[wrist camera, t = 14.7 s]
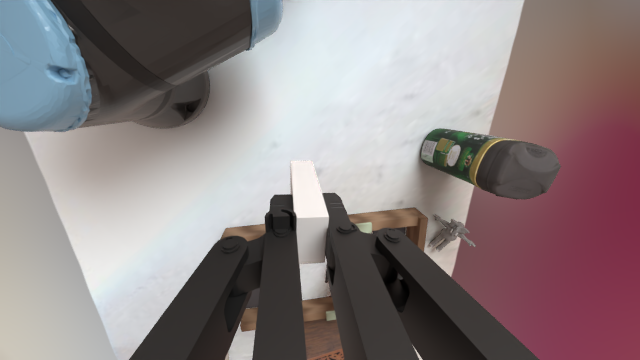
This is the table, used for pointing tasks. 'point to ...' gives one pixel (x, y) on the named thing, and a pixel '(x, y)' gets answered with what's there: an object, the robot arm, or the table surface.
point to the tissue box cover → (323, 340)
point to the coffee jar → (492, 162)
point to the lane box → (365, 223)
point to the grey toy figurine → (450, 233)
